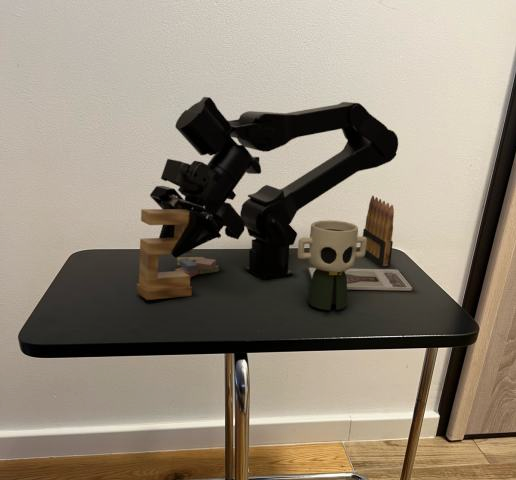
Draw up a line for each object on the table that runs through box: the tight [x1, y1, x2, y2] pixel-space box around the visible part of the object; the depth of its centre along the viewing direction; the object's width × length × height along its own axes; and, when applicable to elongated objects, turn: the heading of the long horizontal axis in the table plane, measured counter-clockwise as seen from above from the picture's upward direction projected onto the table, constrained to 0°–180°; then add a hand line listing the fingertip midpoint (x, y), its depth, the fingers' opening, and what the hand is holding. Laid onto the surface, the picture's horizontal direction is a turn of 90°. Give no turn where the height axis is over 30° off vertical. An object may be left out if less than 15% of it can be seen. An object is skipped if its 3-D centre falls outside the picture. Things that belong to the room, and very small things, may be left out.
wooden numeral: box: [135, 208, 193, 301], centre depth 86 cm, size 8×4×13 cm, turn 125°
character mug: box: [297, 219, 367, 311], centre depth 84 cm, size 11×7×13 cm, turn 101°
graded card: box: [308, 267, 413, 292], centre depth 98 cm, size 10×1×17 cm
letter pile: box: [174, 256, 220, 278], centre depth 100 cm, size 8×6×2 cm
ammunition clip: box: [362, 195, 395, 268], centre depth 108 cm, size 11×2×12 cm, turn 13°
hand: (165, 252), depth 86 cm, fingers closed on wooden numeral, 4 cm apart
